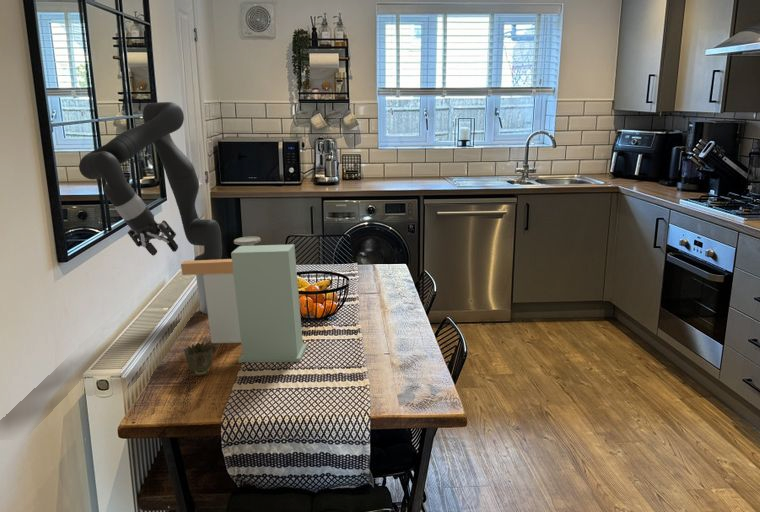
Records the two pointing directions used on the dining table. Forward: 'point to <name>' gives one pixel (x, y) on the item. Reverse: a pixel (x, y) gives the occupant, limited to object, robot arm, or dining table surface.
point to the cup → (199, 358)
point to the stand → (268, 303)
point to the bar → (207, 267)
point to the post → (222, 308)
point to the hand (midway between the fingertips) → (165, 251)
